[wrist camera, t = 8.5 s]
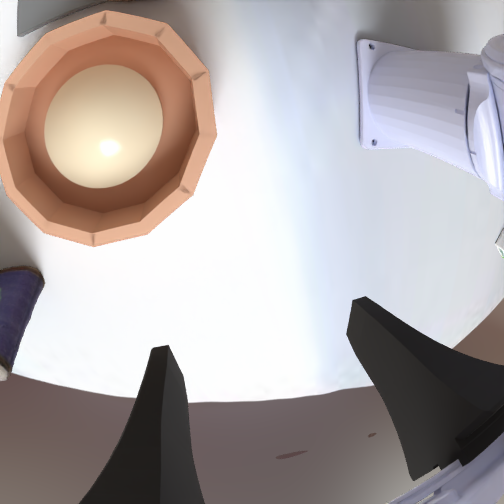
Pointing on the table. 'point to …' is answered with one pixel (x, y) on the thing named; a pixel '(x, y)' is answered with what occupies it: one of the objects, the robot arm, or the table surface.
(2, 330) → the flask
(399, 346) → the robot arm
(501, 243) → the syrup box
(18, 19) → the mat
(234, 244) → the table surface
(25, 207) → the bowl
